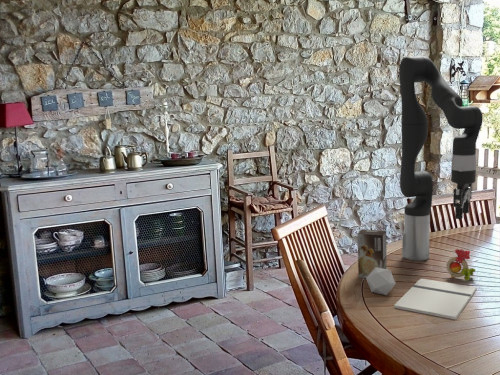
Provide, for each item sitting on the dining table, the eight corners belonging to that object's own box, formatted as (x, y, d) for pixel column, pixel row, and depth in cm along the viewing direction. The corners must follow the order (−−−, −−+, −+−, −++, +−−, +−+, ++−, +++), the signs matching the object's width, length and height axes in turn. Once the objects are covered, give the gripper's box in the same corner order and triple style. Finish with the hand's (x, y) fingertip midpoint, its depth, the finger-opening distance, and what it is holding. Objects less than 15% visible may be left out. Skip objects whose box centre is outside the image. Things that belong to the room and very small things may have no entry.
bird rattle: (451, 286, 188) (477, 279, 183) (438, 256, 188) (464, 249, 183) (454, 280, 193) (480, 273, 188) (442, 251, 193) (467, 244, 189)
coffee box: (387, 274, 196) (387, 230, 193) (383, 280, 190) (383, 235, 187) (361, 271, 200) (361, 228, 197) (357, 277, 194) (357, 233, 191)
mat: (394, 307, 167) (394, 304, 167) (420, 280, 188) (420, 278, 188) (455, 319, 157) (455, 316, 157) (476, 289, 178) (476, 286, 178)
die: (399, 292, 180) (388, 265, 184) (397, 288, 173) (386, 260, 176) (375, 301, 182) (365, 273, 186) (372, 297, 174) (361, 269, 178)
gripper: (457, 164, 189) (455, 210, 192) (445, 170, 178) (444, 219, 181) (480, 165, 185) (478, 212, 188) (470, 172, 174) (468, 222, 177)
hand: (462, 215), depth 185 cm, fingers open, 8 cm apart
